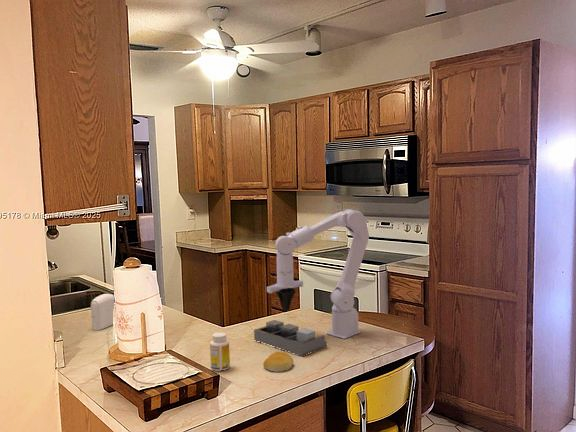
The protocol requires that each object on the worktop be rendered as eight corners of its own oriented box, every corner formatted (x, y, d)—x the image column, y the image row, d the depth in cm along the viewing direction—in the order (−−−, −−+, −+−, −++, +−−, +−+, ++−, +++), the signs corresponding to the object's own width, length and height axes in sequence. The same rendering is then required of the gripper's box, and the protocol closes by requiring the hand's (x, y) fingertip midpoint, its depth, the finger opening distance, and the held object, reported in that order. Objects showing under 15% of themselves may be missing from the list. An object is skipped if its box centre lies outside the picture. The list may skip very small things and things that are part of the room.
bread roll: (259, 371, 145) (259, 358, 144) (272, 360, 153) (271, 347, 153) (286, 375, 142) (285, 361, 141) (297, 363, 150) (296, 350, 150)
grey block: (305, 342, 165) (304, 328, 164) (315, 346, 161) (315, 330, 161) (296, 346, 162) (296, 331, 161) (307, 349, 159) (306, 333, 158)
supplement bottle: (230, 364, 150) (229, 330, 149) (229, 371, 145) (228, 336, 144) (211, 365, 150) (210, 331, 149) (210, 372, 144) (209, 337, 143)
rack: (279, 332, 179) (279, 316, 178) (326, 346, 163) (326, 328, 163) (254, 341, 170) (253, 324, 170) (301, 356, 155) (301, 338, 154)
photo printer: (99, 331, 185) (97, 298, 184) (90, 330, 186) (88, 297, 185) (117, 323, 194) (116, 292, 193) (108, 322, 196) (107, 291, 195)
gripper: (275, 275, 163) (276, 316, 164) (308, 269, 172) (309, 308, 173) (262, 272, 169) (263, 312, 170) (295, 267, 178) (296, 304, 179)
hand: (285, 310), depth 172 cm, fingers closed
